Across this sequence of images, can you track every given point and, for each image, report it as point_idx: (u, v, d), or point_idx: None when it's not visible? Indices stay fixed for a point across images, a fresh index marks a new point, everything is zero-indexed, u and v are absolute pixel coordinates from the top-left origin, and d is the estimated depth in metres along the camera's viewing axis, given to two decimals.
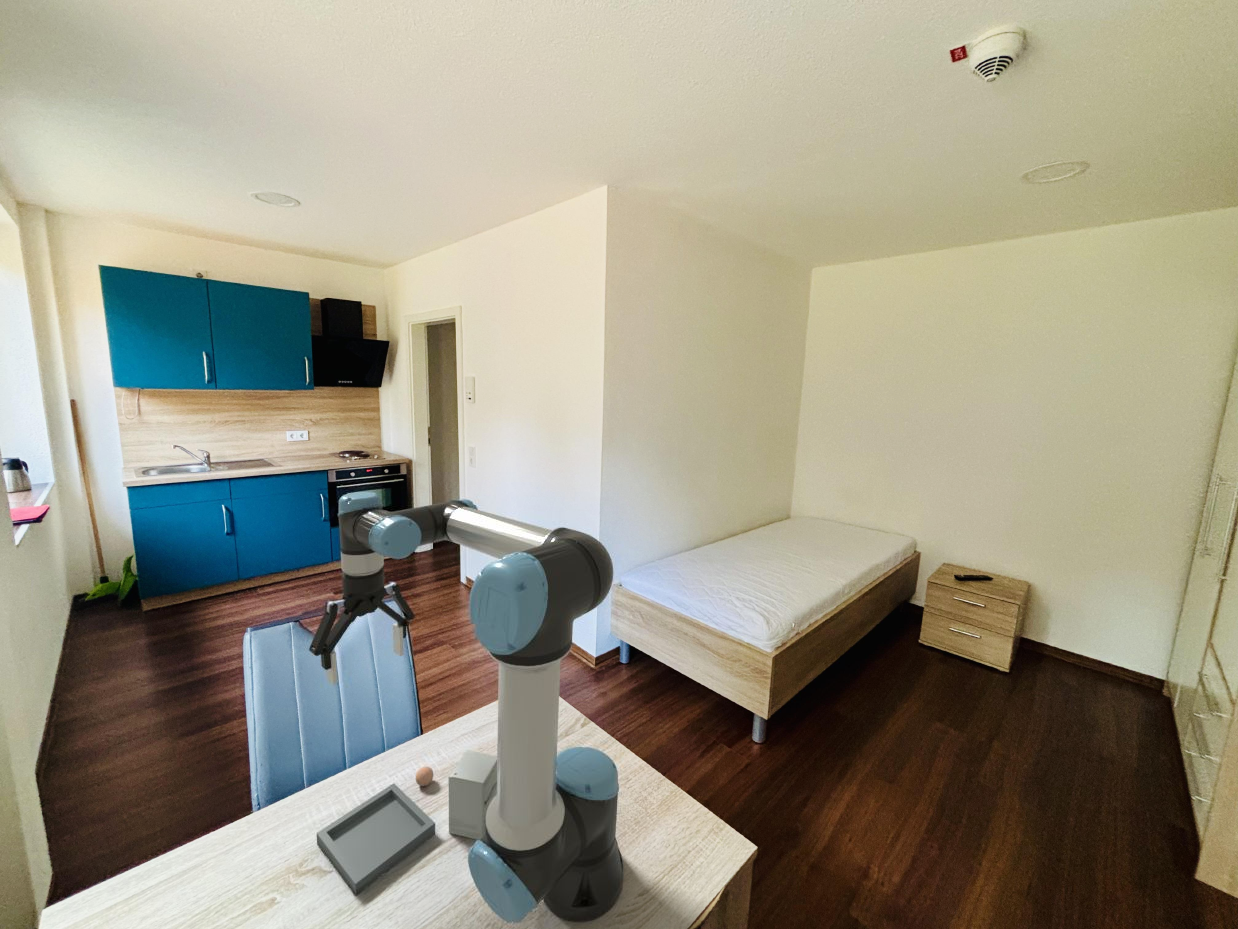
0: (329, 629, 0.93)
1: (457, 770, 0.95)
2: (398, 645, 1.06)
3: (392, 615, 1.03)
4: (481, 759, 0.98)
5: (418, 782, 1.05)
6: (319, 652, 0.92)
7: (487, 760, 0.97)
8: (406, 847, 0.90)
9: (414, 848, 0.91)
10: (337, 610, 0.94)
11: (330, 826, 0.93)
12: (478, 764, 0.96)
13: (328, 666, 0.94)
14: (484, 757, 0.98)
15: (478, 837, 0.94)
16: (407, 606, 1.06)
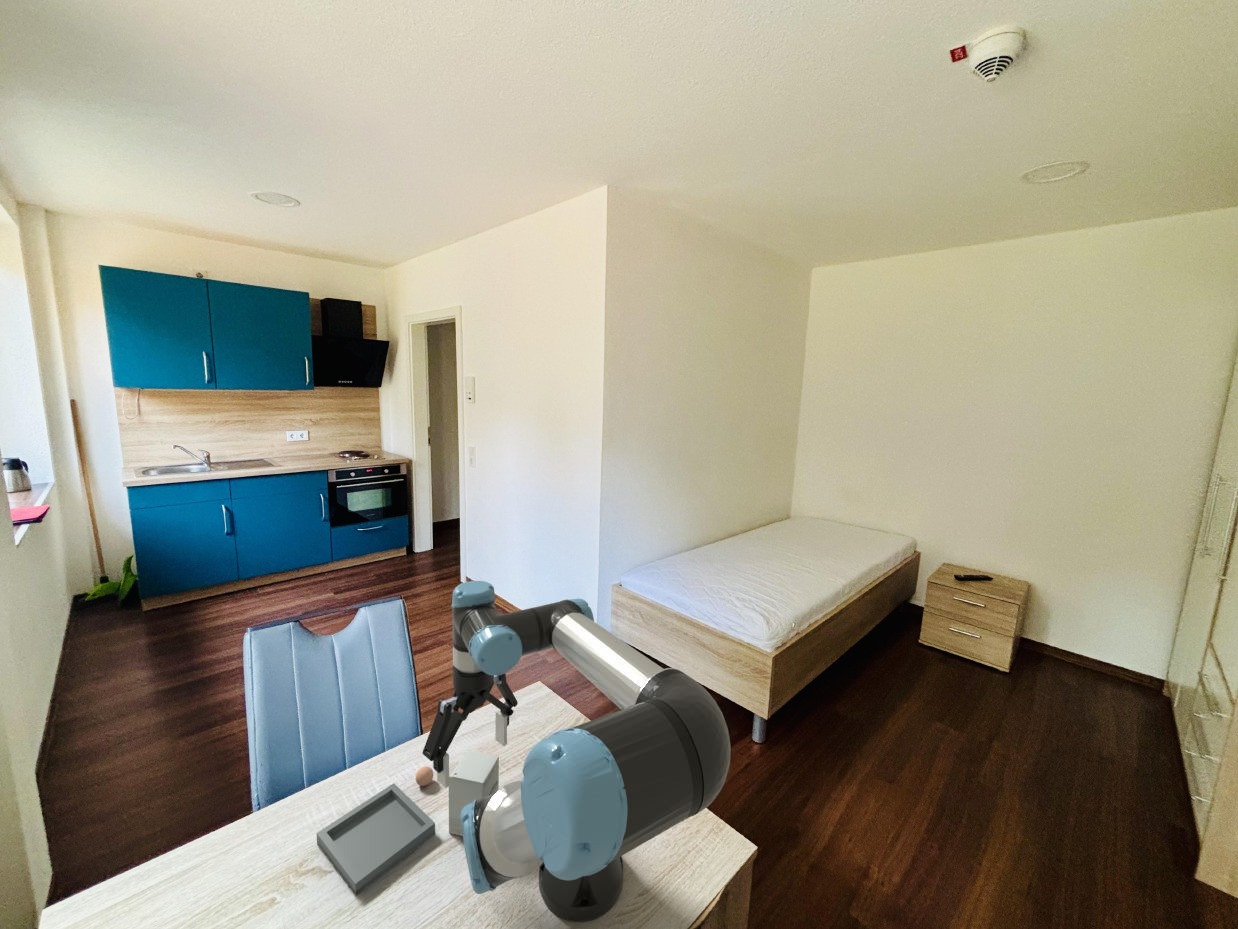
0: (443, 731, 0.88)
1: (457, 770, 0.95)
2: (502, 735, 1.00)
3: (498, 706, 0.98)
4: (481, 759, 0.98)
5: (418, 782, 1.05)
6: (434, 757, 0.87)
7: (487, 760, 0.97)
8: (406, 847, 0.90)
9: (414, 848, 0.91)
10: (451, 710, 0.88)
11: (330, 826, 0.93)
12: (478, 764, 0.96)
13: (441, 769, 0.89)
14: (484, 757, 0.98)
15: None
16: (511, 694, 1.00)
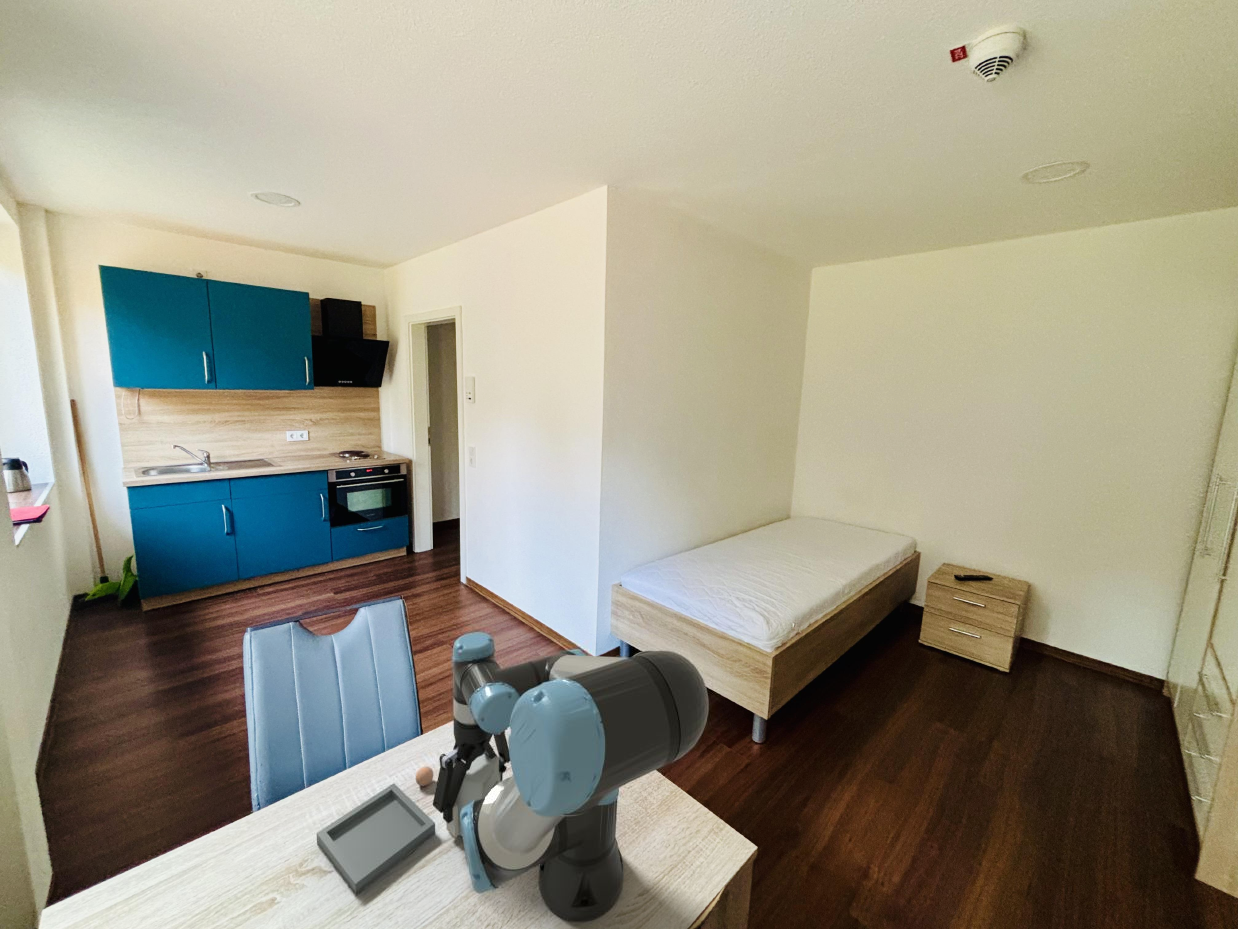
0: (449, 784, 0.90)
1: None
2: None
3: None
4: (481, 759, 0.98)
5: (418, 782, 1.05)
6: (444, 808, 0.90)
7: (487, 760, 0.97)
8: (406, 847, 0.90)
9: (414, 848, 0.91)
10: (453, 764, 0.90)
11: (330, 826, 0.93)
12: (478, 764, 0.96)
13: (450, 819, 0.92)
14: (484, 757, 0.98)
15: None
16: (507, 748, 1.01)
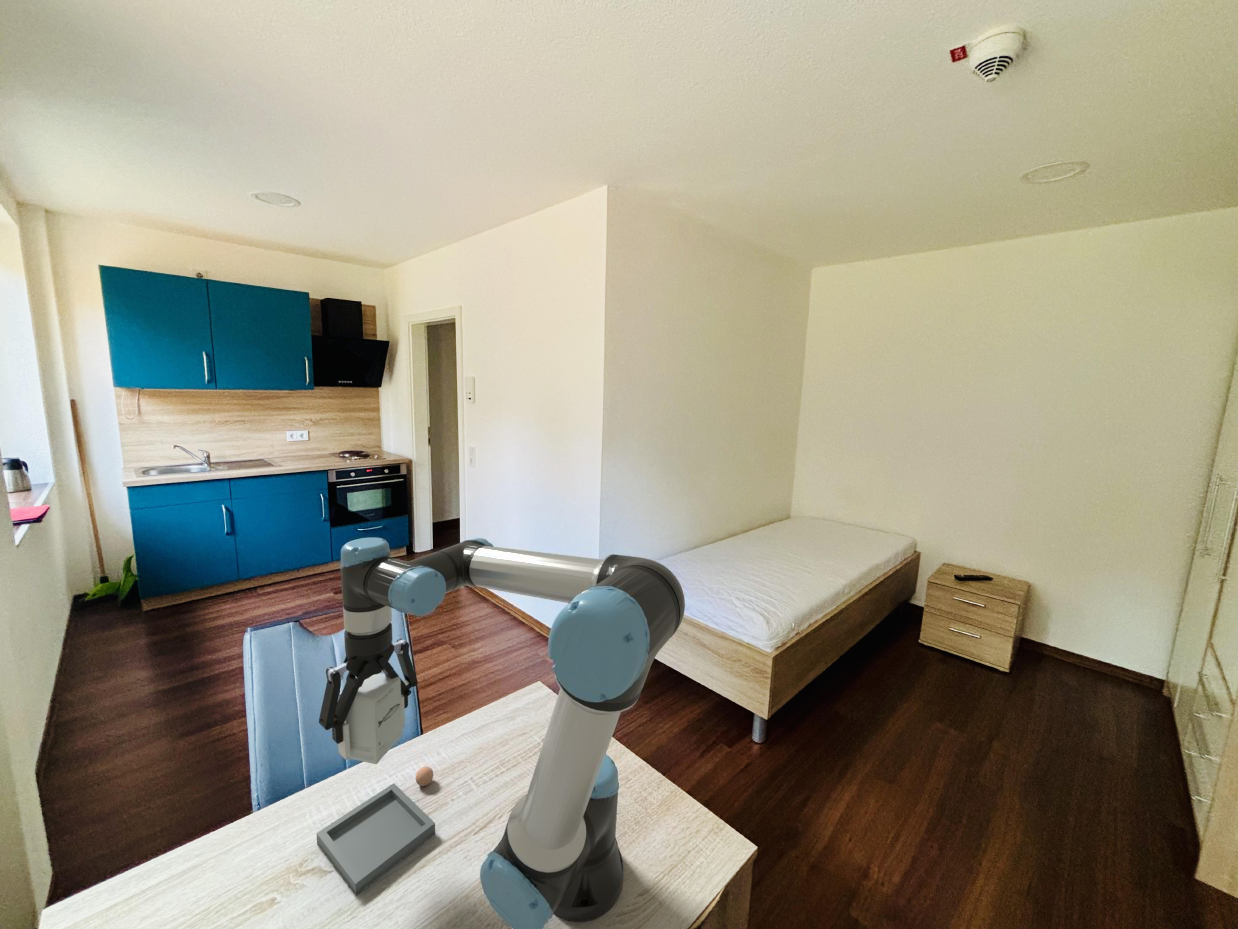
0: (336, 699, 0.82)
1: None
2: None
3: None
4: (380, 679, 0.90)
5: (418, 782, 1.05)
6: (330, 725, 0.82)
7: (386, 680, 0.90)
8: (406, 847, 0.90)
9: (414, 848, 0.91)
10: (340, 678, 0.82)
11: (330, 826, 0.93)
12: (375, 683, 0.88)
13: (340, 739, 0.84)
14: (384, 677, 0.90)
15: (372, 760, 0.86)
16: (412, 670, 0.93)
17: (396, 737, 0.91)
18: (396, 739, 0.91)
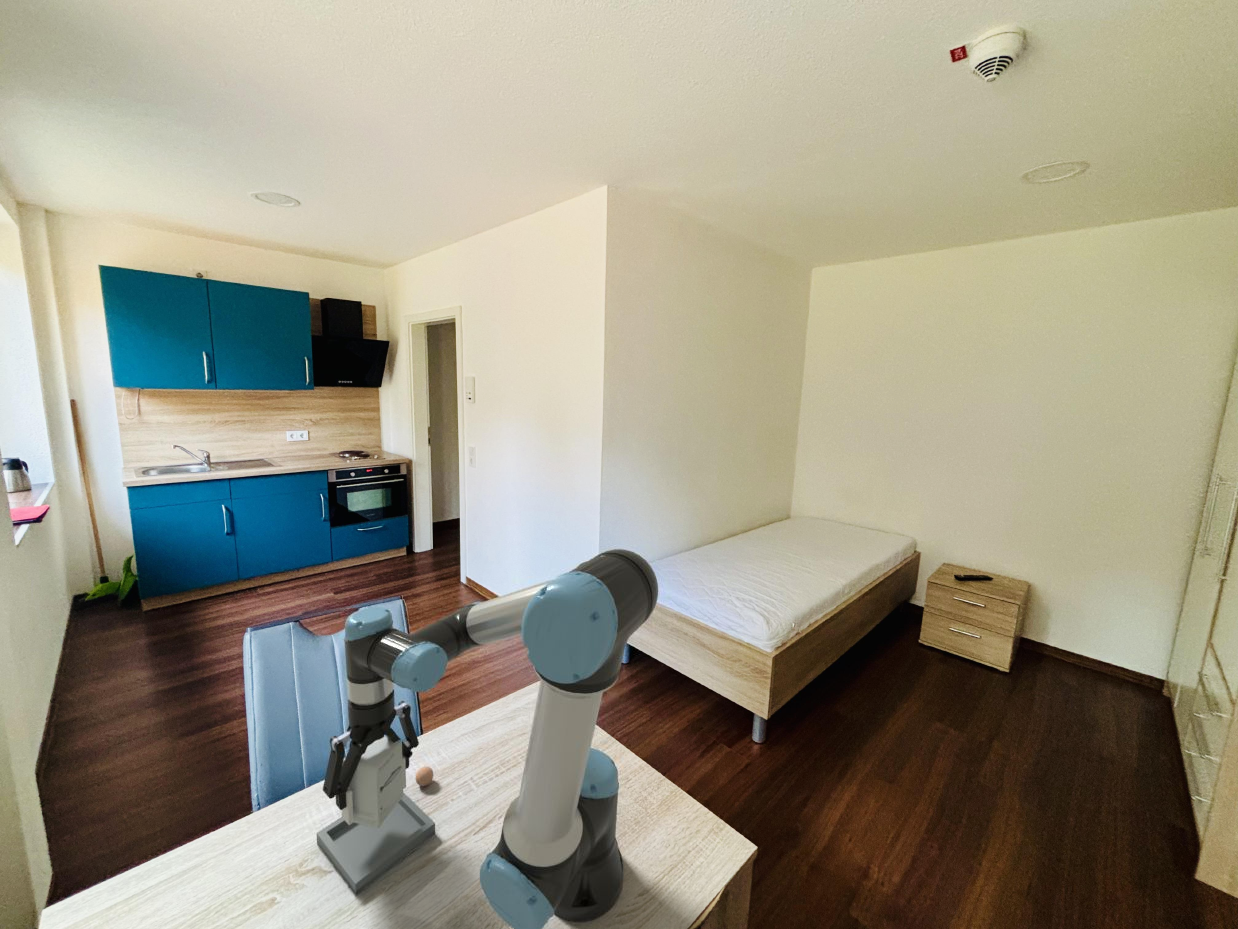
0: (339, 768, 0.84)
1: None
2: None
3: None
4: (382, 743, 0.92)
5: (418, 782, 1.05)
6: (334, 794, 0.84)
7: (388, 744, 0.92)
8: (406, 847, 0.90)
9: (414, 848, 0.91)
10: (344, 747, 0.84)
11: (330, 826, 0.93)
12: (377, 748, 0.91)
13: (343, 805, 0.86)
14: (386, 740, 0.92)
15: (374, 825, 0.88)
16: (413, 732, 0.95)
17: (397, 798, 0.93)
18: (397, 800, 0.93)
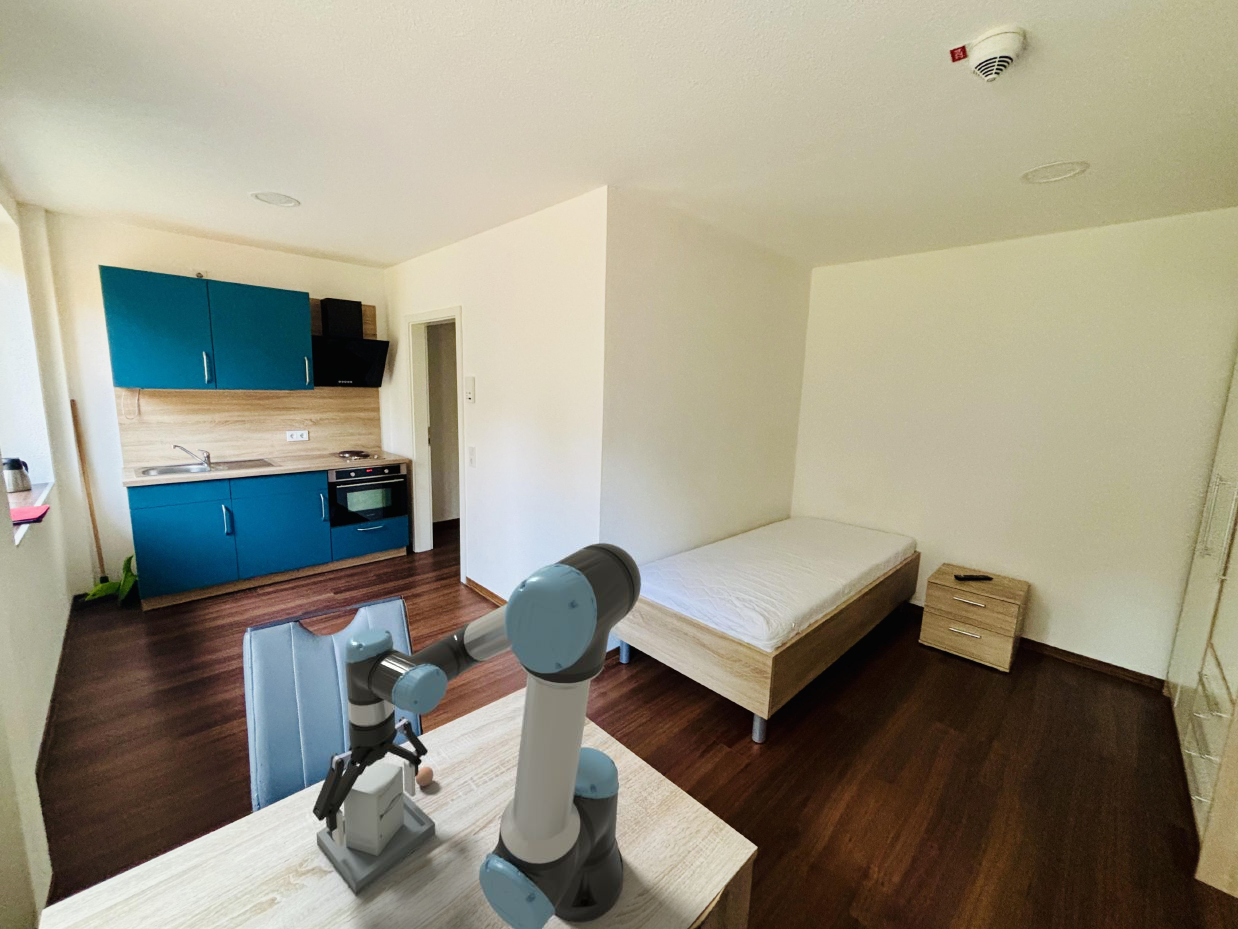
0: (335, 789, 0.84)
1: None
2: (409, 785, 0.97)
3: (403, 756, 0.94)
4: (383, 769, 0.93)
5: (418, 782, 1.05)
6: (324, 816, 0.83)
7: (388, 771, 0.92)
8: (406, 847, 0.90)
9: (414, 848, 0.91)
10: (344, 766, 0.85)
11: None
12: (378, 775, 0.91)
13: (333, 827, 0.85)
14: (387, 767, 0.93)
15: (374, 852, 0.89)
16: (419, 742, 0.97)
17: (398, 825, 0.94)
18: (398, 827, 0.94)
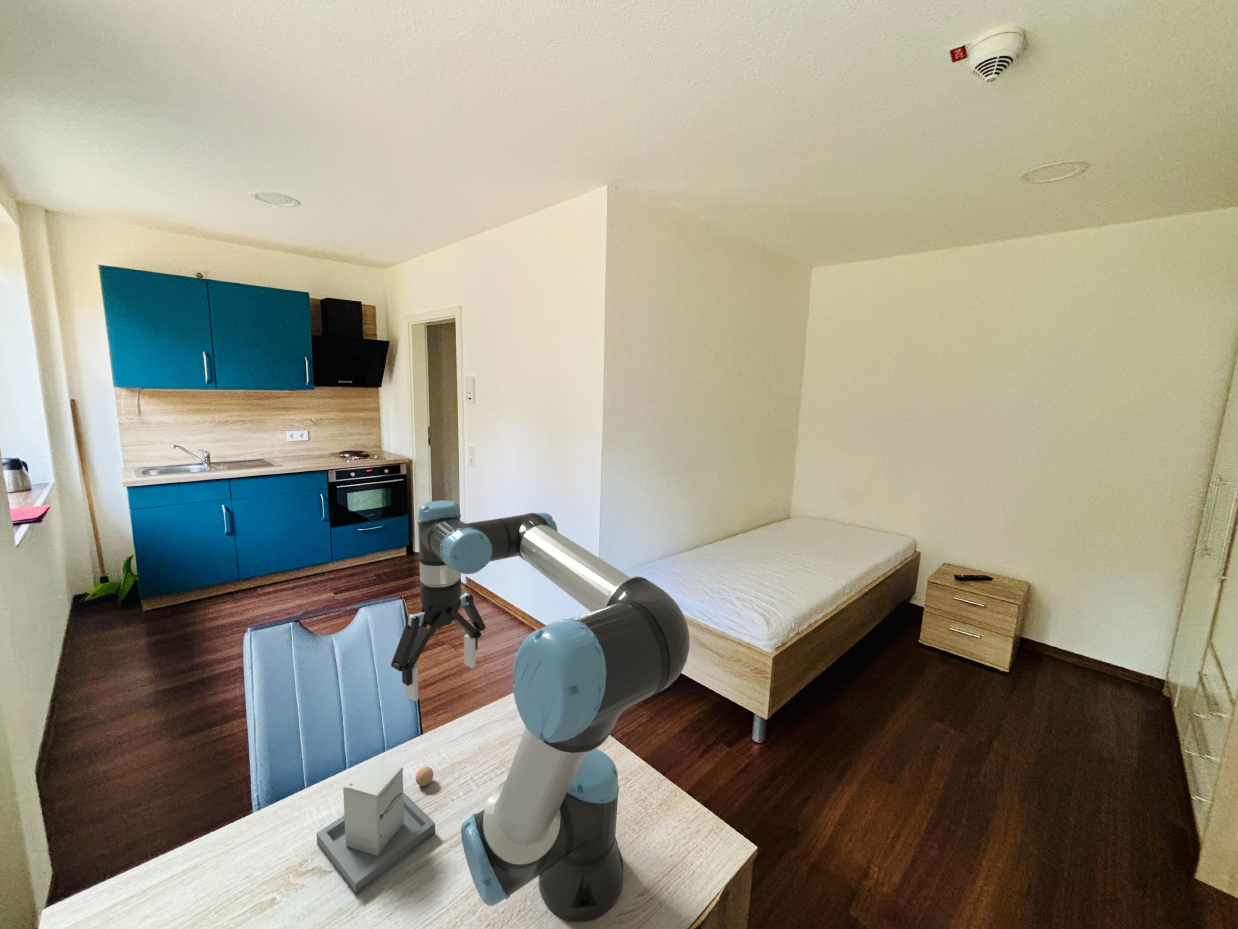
0: (412, 643, 0.90)
1: (354, 780, 0.90)
2: (470, 657, 1.03)
3: (466, 626, 1.00)
4: (383, 769, 0.93)
5: (418, 782, 1.05)
6: (403, 667, 0.89)
7: (388, 771, 0.92)
8: (406, 847, 0.90)
9: (414, 848, 0.91)
10: (419, 623, 0.91)
11: (330, 826, 0.93)
12: (378, 775, 0.91)
13: (410, 682, 0.91)
14: (387, 767, 0.93)
15: (374, 852, 0.89)
16: (479, 617, 1.03)
17: (398, 825, 0.94)
18: (398, 827, 0.94)
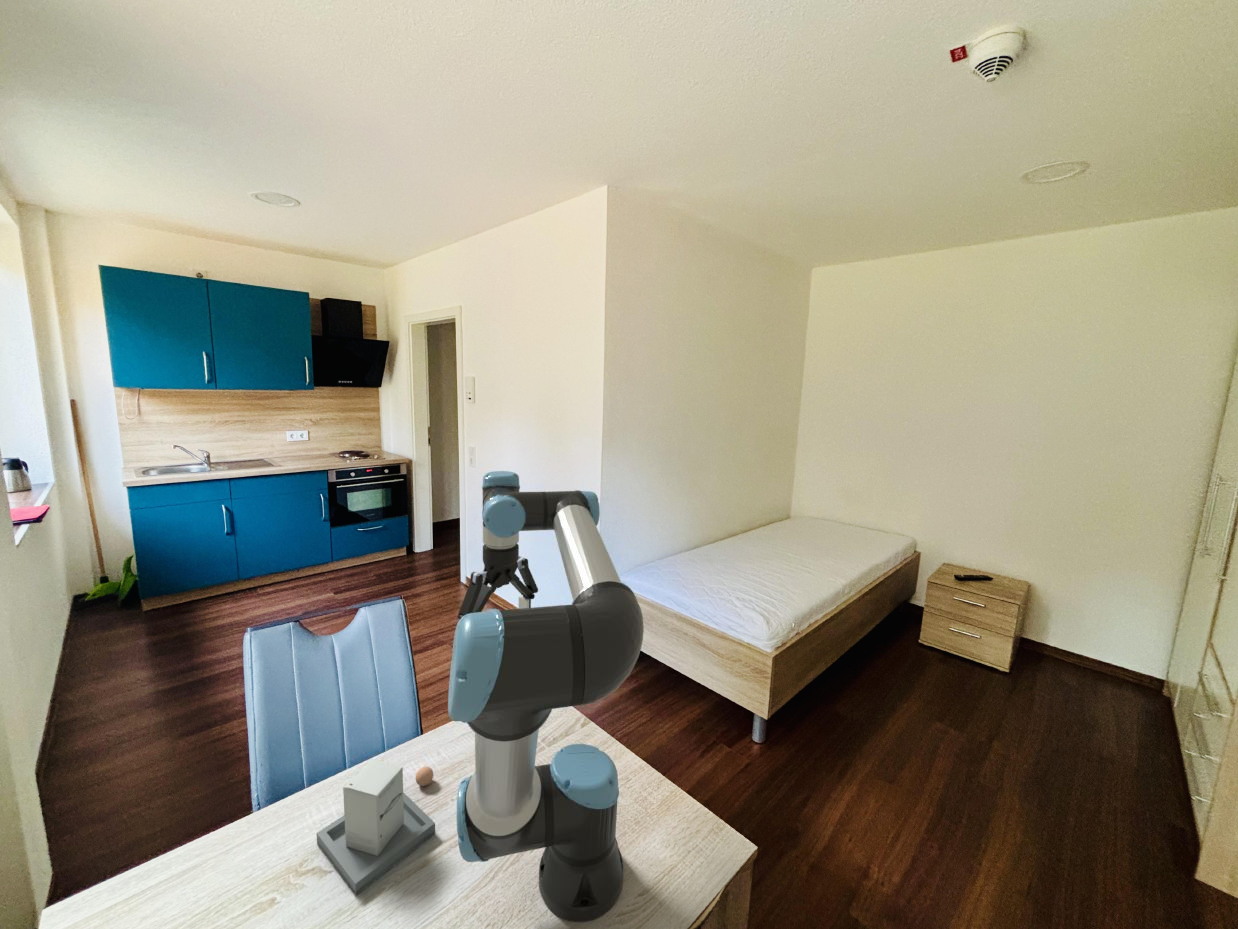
0: (476, 598, 0.99)
1: (354, 780, 0.90)
2: None
3: (521, 588, 1.09)
4: (383, 769, 0.93)
5: (418, 782, 1.05)
6: None
7: (388, 771, 0.92)
8: (406, 847, 0.90)
9: (414, 848, 0.91)
10: (482, 581, 1.00)
11: (330, 826, 0.93)
12: (378, 775, 0.91)
13: None
14: (387, 767, 0.93)
15: (374, 852, 0.89)
16: (533, 580, 1.12)
17: (398, 825, 0.94)
18: (398, 827, 0.94)
